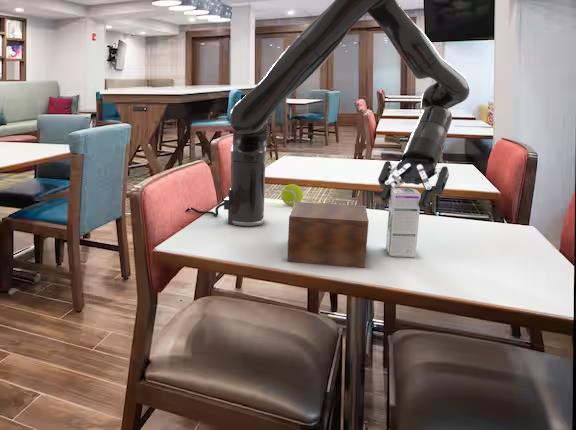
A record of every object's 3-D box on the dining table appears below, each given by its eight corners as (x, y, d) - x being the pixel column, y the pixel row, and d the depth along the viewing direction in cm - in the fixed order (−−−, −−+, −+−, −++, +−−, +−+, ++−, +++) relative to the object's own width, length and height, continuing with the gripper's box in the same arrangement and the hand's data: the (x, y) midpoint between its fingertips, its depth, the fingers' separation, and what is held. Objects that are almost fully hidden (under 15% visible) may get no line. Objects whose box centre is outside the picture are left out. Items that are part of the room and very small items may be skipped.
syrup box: (416, 257, 119) (423, 193, 115) (387, 256, 120) (393, 192, 116) (411, 250, 124) (417, 188, 121) (384, 248, 125) (390, 187, 122)
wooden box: (287, 261, 116) (289, 216, 114) (293, 242, 130) (295, 201, 128) (364, 267, 112) (368, 221, 110) (362, 247, 126) (365, 205, 124)
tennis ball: (278, 206, 168) (278, 185, 166) (283, 202, 174) (284, 181, 172) (299, 208, 165) (300, 186, 163) (304, 204, 171) (305, 183, 169)
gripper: (390, 133, 126) (366, 190, 120) (456, 137, 117) (433, 198, 111) (396, 154, 131) (374, 209, 125) (460, 159, 122) (438, 218, 116)
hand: (402, 204), depth 118 cm, fingers closed on syrup box, 7 cm apart
